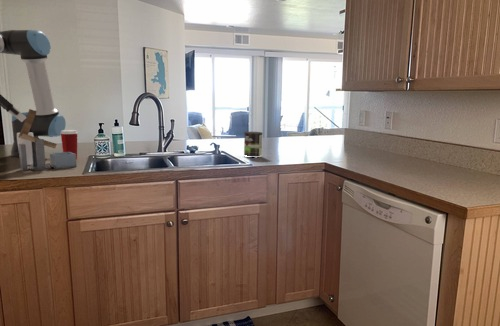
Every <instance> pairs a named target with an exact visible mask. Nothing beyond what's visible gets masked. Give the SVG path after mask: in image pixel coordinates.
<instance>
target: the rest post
mask: <svg viewBox="0 0 500 326" xmlns="http://www.w3.org/2000/svg"><path fill="white" fill-rule="evenodd" d="M19 156H20V157H19V165H20V171H22V172H28V168H29V167H28V165H27V156H26V145H25V144H19Z"/></svg>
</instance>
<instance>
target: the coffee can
mask: <svg viewBox="0 0 500 326" xmlns="http://www.w3.org/2000/svg"><path fill="white" fill-rule="evenodd" d="M243 145H244V147H243V149H244V150H243V153H244V154H243V156H244V155H247V156H260V155H262V152H263V150H262V148H263V132H261V131H245V132H244V144H243Z"/></svg>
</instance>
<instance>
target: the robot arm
mask: <svg viewBox="0 0 500 326" xmlns="http://www.w3.org/2000/svg"><path fill="white" fill-rule="evenodd" d="M51 49H52V48H51V43H50V39H49V38H48V36H47V35H46V34H45V33H44V32H43V31H41V30H36V29H17V30H15V29H11V30H10V29H9V30H3V31H0V54H6V55H7V54H8V55H13V56H16V55H19V56H20V60H22V61H23V62H24V63H25V67H26V71H27V75H28V80H29V85H30V87H31V94H32V97H33V102H34V107H35V111H37V112H36V115H35V117H34V120H33V123H32V125H31V128H30V131H29V132H32V133H33V135H34V137H36V138H39V137H49V138H53V137H54V138H55V137H61V134H60V133H61V131H62V130H66V124H67V123H66V119H65V117H64V116H63V115H61V114H60V111H59V110H58V109H57V108H56V107H55V103H54V100H53V94H52V88H51V86H50V85H51V84H50V79H49V75H48V71H47V70H48V69H47V66H46V65H47V64H46V60H47V59H48V55H49V54H50V53H51ZM0 107H1V108H2V109H4V110H6V112H7V113H9V114H11V126H12V134H13V135H12V136H13V137H12V138H13V143H12V146H11V150H10V156H11V157H14V158H15V157H17V158H20V156H19V149H18V144H17V133H20V132H21V130H22V127H23V124H24V122H25V119H26V118H27V114H28V111H27V112H21V111H20V110H19V109H17V108H16V107H15V106H14V104H13V103H11V102H10V101H9V100H8V99H7V98H6V97H4V96H3V95H2V94H0Z"/></svg>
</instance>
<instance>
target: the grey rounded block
mask: <svg viewBox="0 0 500 326" xmlns="http://www.w3.org/2000/svg"><path fill="white" fill-rule="evenodd" d="M49 161H50V167H51V168H54V169H59V170H60V169H67V168H68V169H69V168H76V167H77V166H78V165H77V160H76V154H75V153H72V152H63V151H62V152H61V151H60V152H49Z"/></svg>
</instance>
